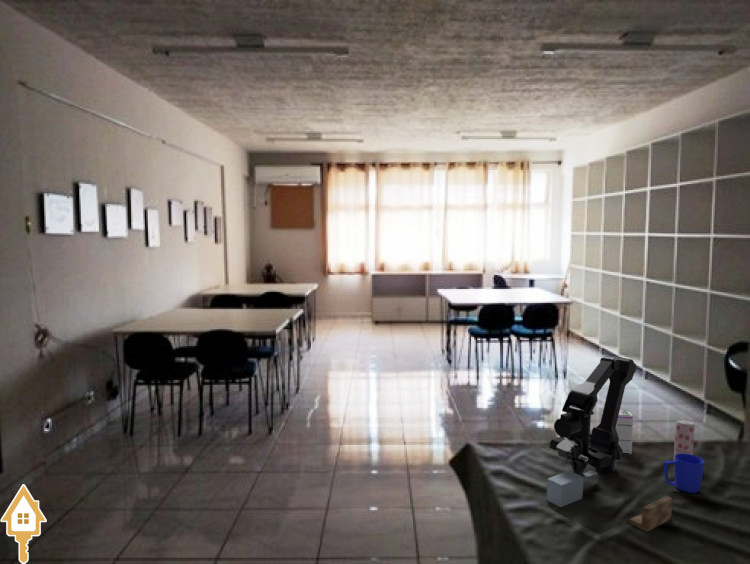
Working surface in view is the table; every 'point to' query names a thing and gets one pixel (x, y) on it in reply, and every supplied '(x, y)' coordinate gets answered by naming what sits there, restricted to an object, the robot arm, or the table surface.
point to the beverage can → (684, 437)
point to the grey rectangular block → (589, 479)
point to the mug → (686, 472)
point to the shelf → (653, 514)
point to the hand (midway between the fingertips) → (577, 478)
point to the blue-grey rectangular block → (564, 488)
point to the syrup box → (625, 430)
